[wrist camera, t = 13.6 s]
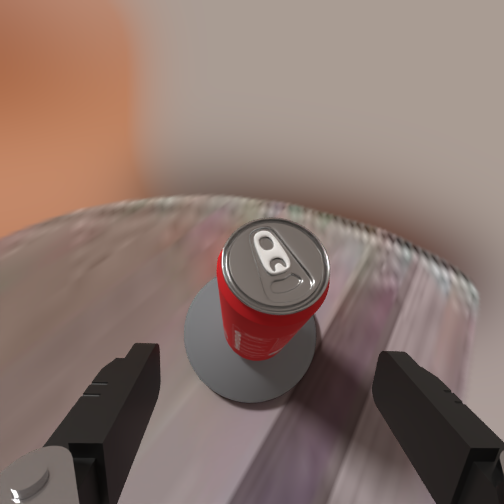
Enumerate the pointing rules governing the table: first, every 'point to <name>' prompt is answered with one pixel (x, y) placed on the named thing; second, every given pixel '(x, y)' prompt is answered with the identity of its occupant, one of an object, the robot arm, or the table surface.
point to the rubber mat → (234, 366)
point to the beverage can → (270, 285)
